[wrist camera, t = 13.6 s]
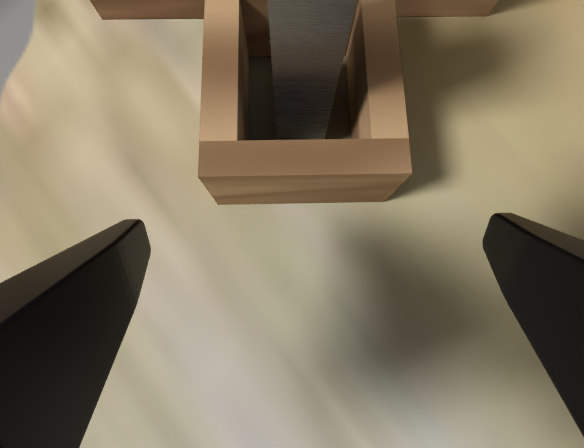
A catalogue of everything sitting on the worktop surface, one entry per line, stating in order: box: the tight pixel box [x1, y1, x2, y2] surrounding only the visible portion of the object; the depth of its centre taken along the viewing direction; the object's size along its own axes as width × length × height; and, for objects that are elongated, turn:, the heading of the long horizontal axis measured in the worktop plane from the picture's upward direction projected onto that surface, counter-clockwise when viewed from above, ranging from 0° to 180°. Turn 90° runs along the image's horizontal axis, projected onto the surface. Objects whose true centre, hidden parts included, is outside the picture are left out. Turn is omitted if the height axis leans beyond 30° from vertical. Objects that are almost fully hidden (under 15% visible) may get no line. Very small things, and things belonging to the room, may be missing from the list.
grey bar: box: [268, 0, 357, 140], centre depth 12 cm, size 4×2×13 cm, turn 1°
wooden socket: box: [90, 0, 498, 205], centre depth 14 cm, size 14×22×10 cm, turn 91°
